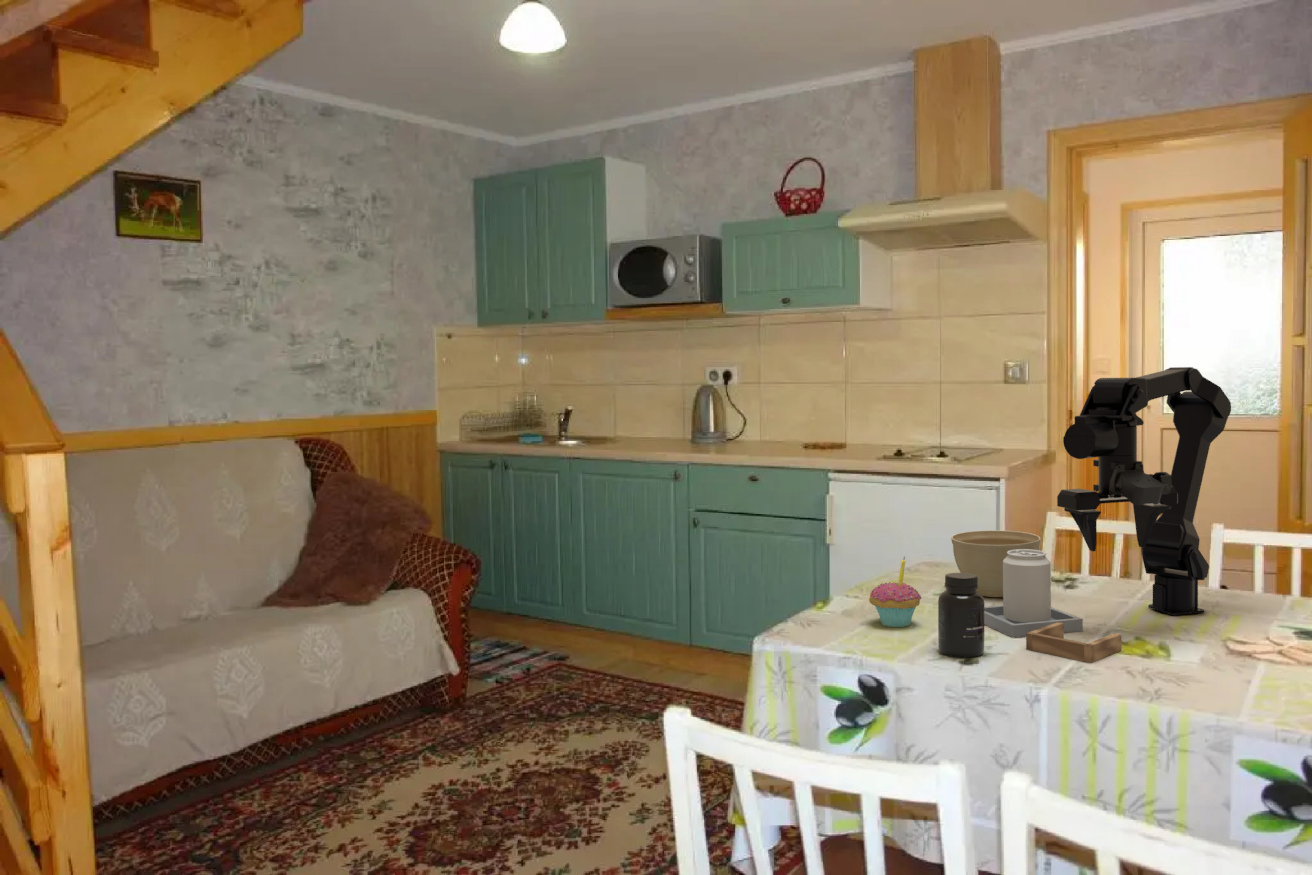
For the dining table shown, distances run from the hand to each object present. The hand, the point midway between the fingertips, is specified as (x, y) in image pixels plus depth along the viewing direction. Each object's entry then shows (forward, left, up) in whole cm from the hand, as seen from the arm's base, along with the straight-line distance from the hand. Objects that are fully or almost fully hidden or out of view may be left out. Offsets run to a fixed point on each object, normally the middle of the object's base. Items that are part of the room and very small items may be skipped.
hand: (1117, 549), depth 168 cm
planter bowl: (+5, -29, -13) cm, 32 cm away
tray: (+13, -6, -13) cm, 19 cm away
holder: (+14, +9, -13) cm, 21 cm away
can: (+13, -6, -13) cm, 19 cm away
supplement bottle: (+31, +5, -13) cm, 34 cm away
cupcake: (+33, -14, -13) cm, 38 cm away
